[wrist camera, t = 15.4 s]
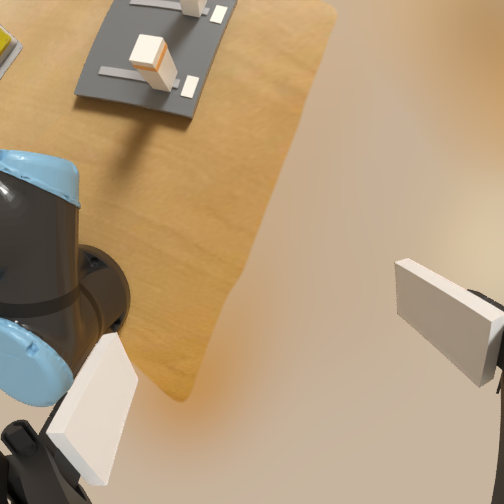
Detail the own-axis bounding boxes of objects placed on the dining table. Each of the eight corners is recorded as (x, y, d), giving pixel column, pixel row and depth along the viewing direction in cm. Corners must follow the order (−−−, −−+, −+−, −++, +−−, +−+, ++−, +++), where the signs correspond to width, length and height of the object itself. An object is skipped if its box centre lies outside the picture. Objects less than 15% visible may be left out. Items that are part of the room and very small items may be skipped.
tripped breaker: (178, 71, 36) (163, 37, 24) (170, 92, 37) (152, 64, 25) (160, 68, 36) (139, 33, 24) (152, 88, 36) (128, 60, 25)
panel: (237, 3, 36) (237, -5, 34) (192, 119, 40) (191, 116, 38) (127, -14, 33) (124, -21, 31) (79, 96, 37) (72, 93, 35)
